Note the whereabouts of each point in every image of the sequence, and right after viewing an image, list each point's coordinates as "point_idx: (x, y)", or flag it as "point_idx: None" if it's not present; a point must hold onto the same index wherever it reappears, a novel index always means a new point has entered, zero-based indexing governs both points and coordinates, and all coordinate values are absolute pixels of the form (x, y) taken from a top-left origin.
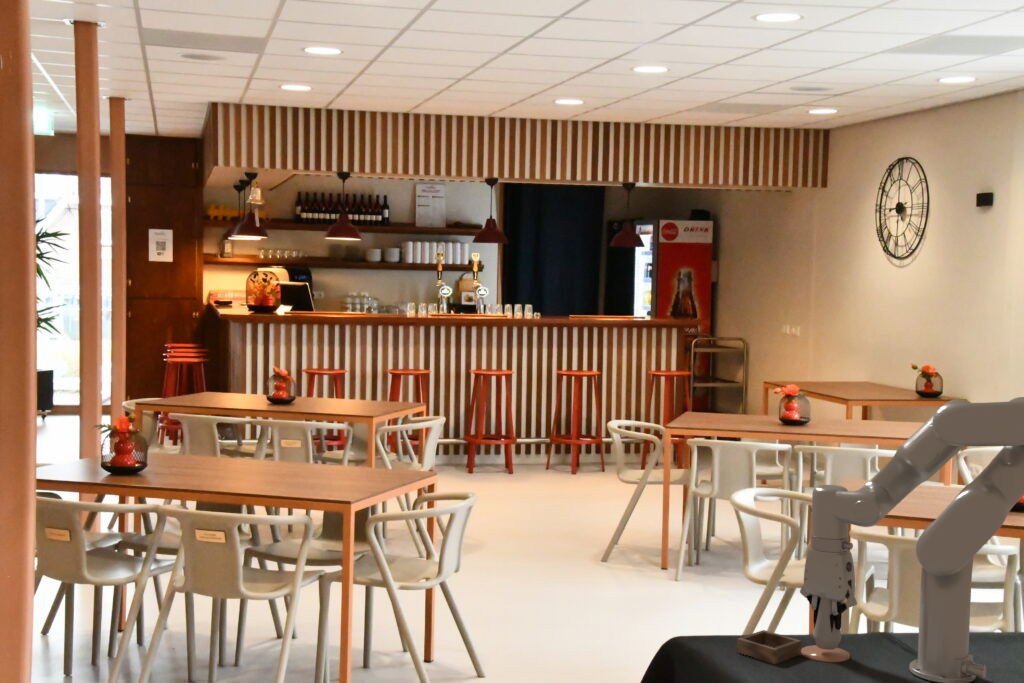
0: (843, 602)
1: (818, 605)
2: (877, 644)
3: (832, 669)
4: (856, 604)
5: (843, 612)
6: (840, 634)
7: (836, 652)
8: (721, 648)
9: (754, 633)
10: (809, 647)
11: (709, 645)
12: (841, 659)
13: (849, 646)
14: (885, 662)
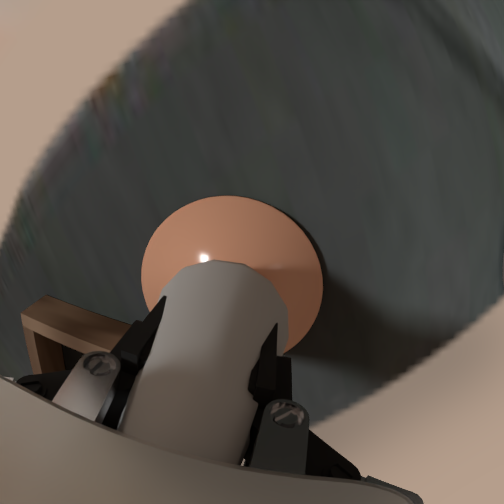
0: (303, 473)
1: (116, 418)
2: (352, 29)
3: (302, 399)
4: (417, 499)
5: (303, 409)
6: (285, 326)
7: (262, 262)
8: (30, 374)
9: (31, 357)
10: (156, 267)
11: (11, 366)
12: (305, 327)
13: (269, 119)
14: (439, 237)
